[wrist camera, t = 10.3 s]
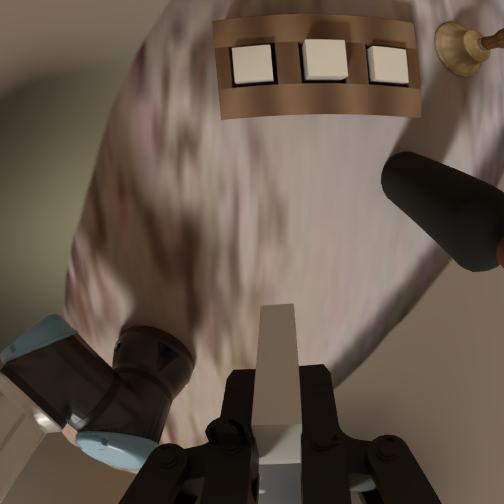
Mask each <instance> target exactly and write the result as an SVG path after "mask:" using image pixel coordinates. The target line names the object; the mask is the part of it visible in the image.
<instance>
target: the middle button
mask: <svg viewBox="0 0 504 504" xmlns="http://www.w3.org/2000/svg"><path fill="white" fill-rule="evenodd" d="M302 59H303V70H304V81H340V80H342V79H344V78H346V77H348V69H347V59H346V49H345V40H324V39H305V41H304V44H303V46H302Z"/></svg>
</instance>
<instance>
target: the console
mask: <svg viewBox="0 0 504 504" xmlns="http://www.w3.org/2000/svg"><path fill="white" fill-rule="evenodd" d="M213 33H214V45H215V56H216V68H217V79H218V90H219V100H220V111H221V120H226V119H236V118H248V117H261V116H277V115H300V114H364V115H387V116H402V117H415V118H422V111H421V90H420V76H419V65H418V55H417V46H416V39H415V31H414V25H413V23H409V22H403V21H397V20H391V19H383V18H375V17H365V16H350V15H334V14H285V15H263V16H251V17H241V18H232V19H226V20H218V21H213ZM305 39H324V40H345V49H346V59H347V69H348V77H346V78H344V79H342V80H340V81H304V70H303V59H302V46H303V44H304V41H305ZM259 45H270V48H271V58H272V68H273V80H274V84H264V85H251V86H239V85H238V84H236V83H235V77H234V66H233V55H232V48H237V47H247V46H259ZM371 46H379V47H389V48H397V49H405V50H406V57H407V67H408V79H409V83H405V84H399V85H394V86H393V85H380V84H369V81H368V69H367V59H366V50H367V49H368V48H370V47H371Z"/></svg>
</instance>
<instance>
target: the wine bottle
mask: <svg viewBox="0 0 504 504" xmlns="http://www.w3.org/2000/svg"><path fill="white" fill-rule="evenodd" d="M381 184H382V188H383V191H384V193H385V194H386V196H387V198H388V199H390V200H391V201H392V202H393V203H394V204H395V205H396V206H398V207H399V208H400V209H401V210H402V211H403V212H404V213H406V214H407V215H408V216H409V217H410V218H411V219H412V220H413V221H414V222H416V223H417V224H418V225H419V226H420V227H421V228H422V229H423V230H424V231H425V232H426V233H427V234H428V235H429V236H430V237H432V238H433V239H434V240H435V241H436V242H437V243H438V244H439V245H440V246H441V247H442V248H443V249H444V250H445V251H446V252H447V253H448V254H449V255H450V256H451V257H452V258H453V259H454V260H455V261H456V262H457V263H458V264H459V265H460V266H461V267H463V268H465V269H467V270H470V271H472V272H480V271H487V270H490V269H493V268H495V267H497V266H498V265H501V266H502V267H503V268H504V192H502V191H501V190H499V189H498V188H496V187H494V186H493V185H490V184H488V183H486V182H484V181H482V180H480V179H477V178H475V177H473V176H471V175H468V174H466V173H464V172H461V171H459V170H456V169H454V168H452V167H449V166H447V165H444V164H442V163H439V162H437V161H434V160H431V159H429V158H426V157H423V156H421V155H418V154H415V153H412V152H401V153H397V154H395V155H394V156H392V157H391V158H390V159H389V160H388V161H387V163H386V164H385V165H384V168H383V171H382V174H381Z"/></svg>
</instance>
